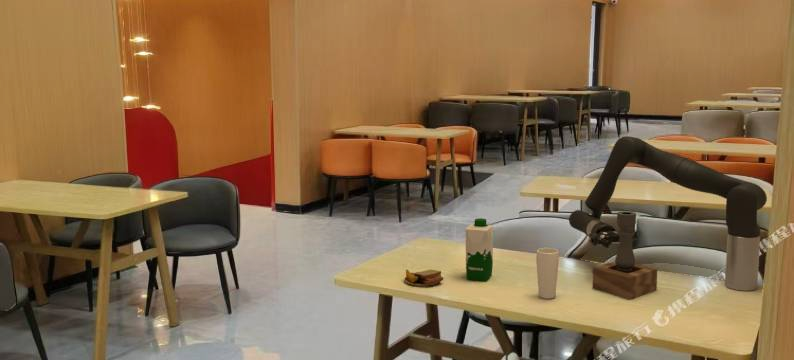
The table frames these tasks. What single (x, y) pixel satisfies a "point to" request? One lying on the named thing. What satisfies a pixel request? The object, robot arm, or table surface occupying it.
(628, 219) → the candle holder
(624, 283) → the bore block
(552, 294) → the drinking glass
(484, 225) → the milk carton
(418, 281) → the toy sandwich meal
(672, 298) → the table surface
